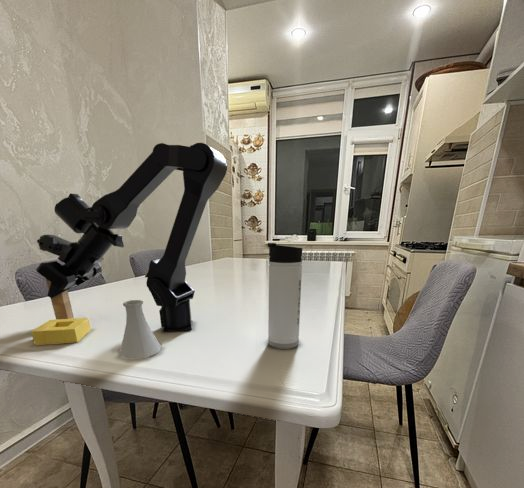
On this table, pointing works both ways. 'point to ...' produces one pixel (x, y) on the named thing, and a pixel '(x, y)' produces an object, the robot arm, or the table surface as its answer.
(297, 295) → the travel mug
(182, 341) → the table surface
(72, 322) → the holder
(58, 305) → the peg
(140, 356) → the flask
